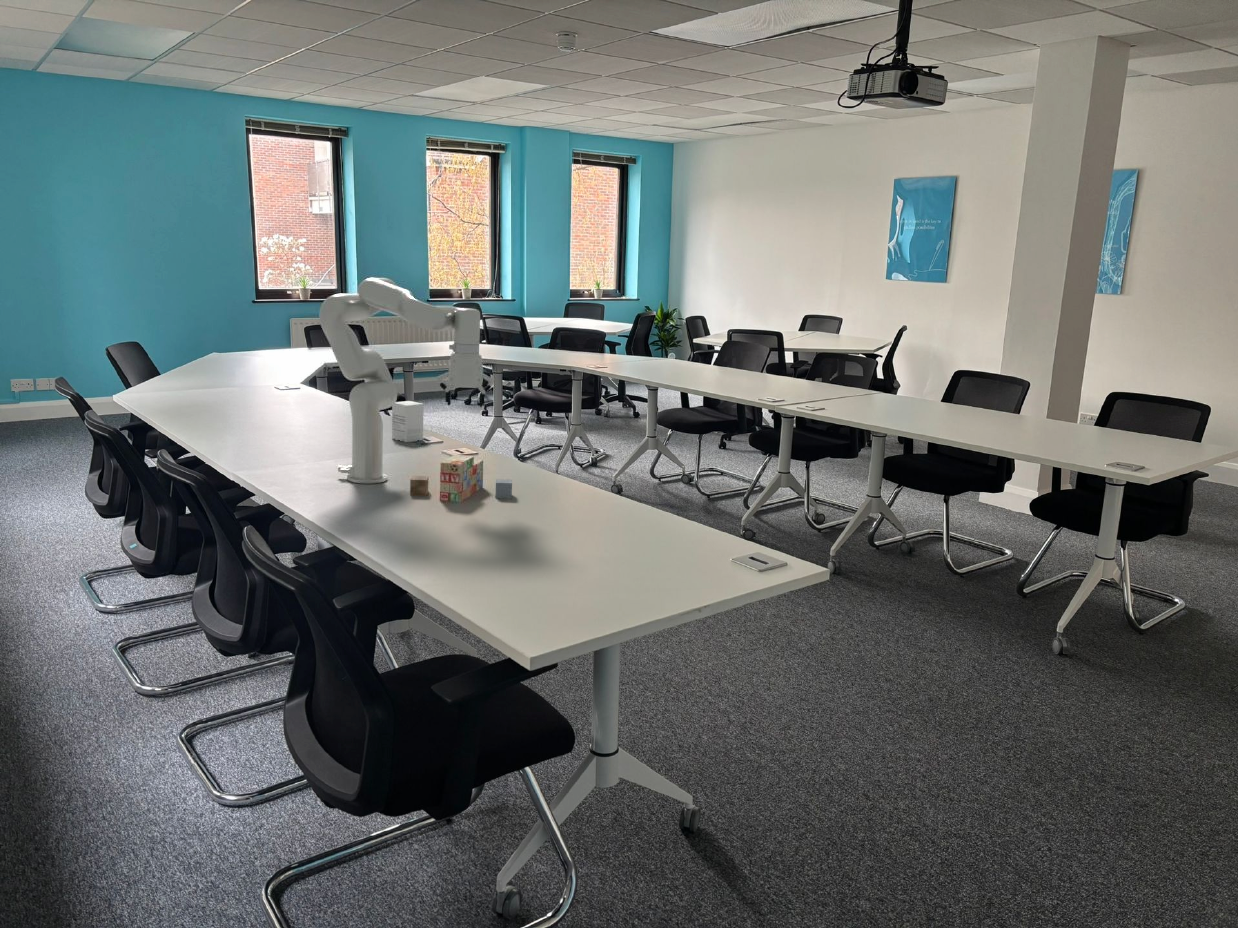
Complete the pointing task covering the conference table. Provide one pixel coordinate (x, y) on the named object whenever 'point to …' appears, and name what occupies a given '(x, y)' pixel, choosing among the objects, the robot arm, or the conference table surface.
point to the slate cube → (503, 488)
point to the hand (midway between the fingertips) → (464, 405)
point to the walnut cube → (419, 485)
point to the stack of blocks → (460, 478)
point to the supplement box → (407, 421)
